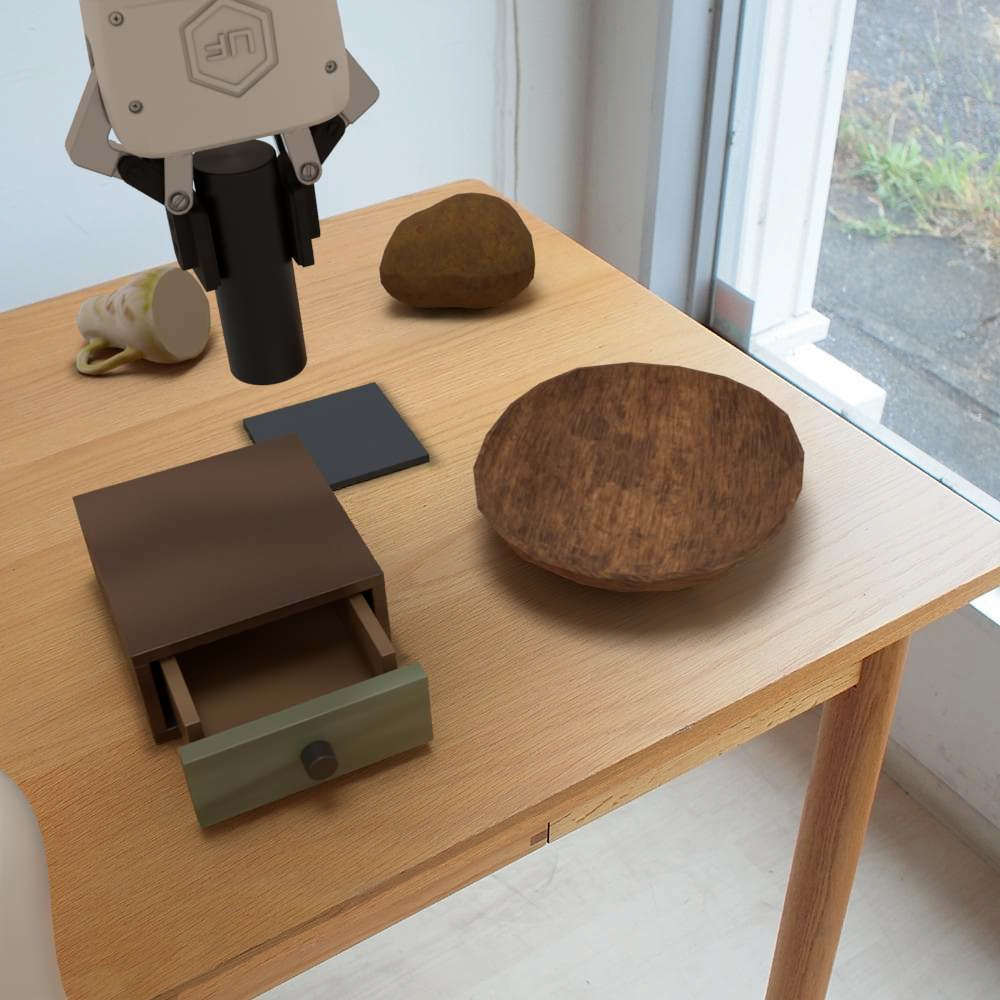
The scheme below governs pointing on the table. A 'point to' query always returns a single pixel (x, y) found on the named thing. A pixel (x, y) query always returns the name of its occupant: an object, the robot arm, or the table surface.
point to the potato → (459, 254)
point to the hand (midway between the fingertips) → (251, 262)
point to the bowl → (639, 475)
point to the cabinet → (220, 555)
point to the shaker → (252, 261)
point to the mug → (146, 320)
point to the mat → (345, 434)
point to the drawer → (291, 706)
